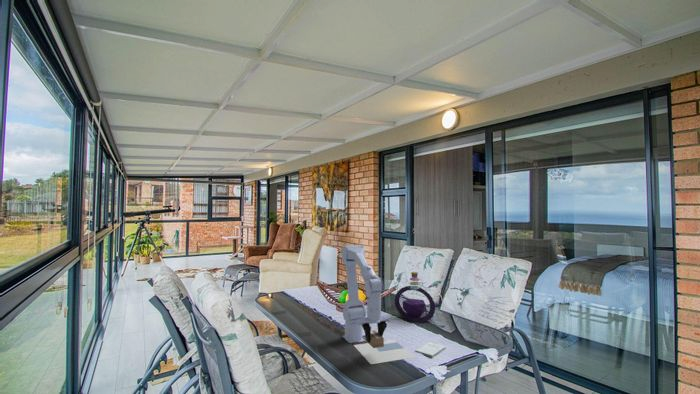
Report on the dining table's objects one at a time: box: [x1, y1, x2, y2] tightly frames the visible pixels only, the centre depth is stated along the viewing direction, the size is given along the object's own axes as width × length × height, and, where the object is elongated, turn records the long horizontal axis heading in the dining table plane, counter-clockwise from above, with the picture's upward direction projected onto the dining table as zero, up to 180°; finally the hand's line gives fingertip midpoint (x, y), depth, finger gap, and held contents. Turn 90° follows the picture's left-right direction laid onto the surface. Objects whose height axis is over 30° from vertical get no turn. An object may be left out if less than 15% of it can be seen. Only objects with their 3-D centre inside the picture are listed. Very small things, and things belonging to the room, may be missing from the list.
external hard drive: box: [414, 341, 446, 359], centre depth 157 cm, size 2×8×12 cm
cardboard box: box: [364, 330, 385, 348], centre depth 149 cm, size 9×4×4 cm, turn 19°
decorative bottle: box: [394, 271, 436, 324], centre depth 202 cm, size 22×21×25 cm
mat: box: [353, 339, 416, 365], centre depth 155 cm, size 20×20×1 cm
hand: (374, 340), depth 149 cm, fingers closed on cardboard box, 4 cm apart
